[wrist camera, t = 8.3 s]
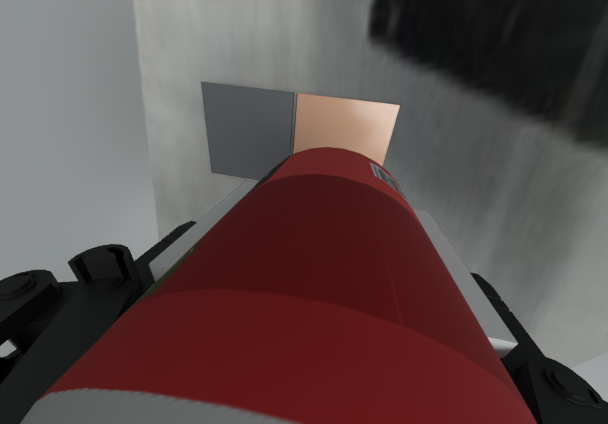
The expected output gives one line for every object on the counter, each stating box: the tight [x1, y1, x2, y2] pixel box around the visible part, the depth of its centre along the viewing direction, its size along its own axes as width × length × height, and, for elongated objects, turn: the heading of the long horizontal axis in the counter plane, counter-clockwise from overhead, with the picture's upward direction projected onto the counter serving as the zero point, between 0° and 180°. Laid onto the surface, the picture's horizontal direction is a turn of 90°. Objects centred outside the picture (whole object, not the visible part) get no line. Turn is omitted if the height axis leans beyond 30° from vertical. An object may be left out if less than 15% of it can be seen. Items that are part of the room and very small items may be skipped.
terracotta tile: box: [293, 93, 400, 166], centre depth 26 cm, size 11×11×1 cm
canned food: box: [20, 147, 537, 424], centre depth 8 cm, size 8×8×11 cm
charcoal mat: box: [201, 82, 294, 180], centre depth 27 cm, size 11×11×1 cm
